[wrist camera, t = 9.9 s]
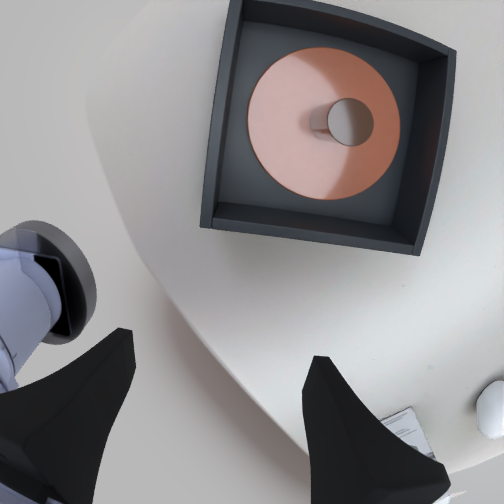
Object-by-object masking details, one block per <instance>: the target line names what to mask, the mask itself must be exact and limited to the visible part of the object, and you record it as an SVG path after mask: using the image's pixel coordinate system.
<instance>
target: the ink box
mask: <svg viewBox="0 0 504 504" xmlns="http://www.w3.org/2000/svg"><path fill="white" fill-rule="evenodd" d="M380 422H381V423H382V424H383V425H384V426H385V427H387V428H388V429H389V430H390V431H391V432H392V433H394V434H395V435H396V436H397V437H399V438H400V439H401V440H403V441H404V442H405V443H407V444H408V445H410V446H411V447H413V448H414V449H416V450H417V451H419V452H421V453H422V454H424V455H426V456H428V457H430V458H432V459H433V460H435V461H437V460H436V458H435V456H434V454H433V451H432V449H431V447H430V445H429V442H428V440H427V438H426V436H425V434H424V432H423V430H422V427H421V425H420V423H419V421H418V419H417V417H416V415H415V413H414V411H413V409H412V408H411V407H410V408H408V409H406V410H404V411H402V412H400V413H398V414H396V415H394V416H391V417H389V418H387V419H385V420H382V421H380ZM450 495H451V494H450V491H449V489H448V491H447V492H446V493H445V494H444V495H443V496H441V497H440V498H439V499H438V500H437V501H435V502H434V503H433V504H449V501H450Z"/></svg>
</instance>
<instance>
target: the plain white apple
mask: <svg viewBox="0 0 504 504" xmlns="http://www.w3.org/2000/svg"><path fill="white" fill-rule="evenodd" d="M476 411H477V427H478V430H479V432H480V433H481V434H482V435H483V436H485V437H487V438H489V439H499V438H501V437H502V436H504V381H494V382H493V383H491V384H490V385H489V386H487V387H486V388H485V389H484V390H483V392H482V394H481V395H480V396H479V398H478V399H477V403H476Z"/></svg>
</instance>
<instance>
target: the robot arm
mask: <svg viewBox="0 0 504 504" xmlns="http://www.w3.org/2000/svg"><path fill="white" fill-rule="evenodd" d="M50 260H51V261H52V263H53V264H52V263H51V262H50ZM62 330H63V331H62ZM48 332H51V333H55V334H59V335H63V336H67V337H69V336H70V335H71V334H72V329H71V324H70V318H69V313H68V307H67V301H66V294H65V287H64V280H63V272H62V263H61V260H60V259H59V258H58V257H56V256H49V255H43V254H37V253H31V252H25V251H19V250H14V249H8V248H2V247H0V504H92V502H93V496H94V490H95V485H96V480H97V475H98V471H99V467H100V463H101V459H102V455H103V451H104V448H105V445H106V442H107V438H108V435H109V433H110V430H111V428H112V426H113V423H114V421H115V419H116V417H117V414H118V412H119V410H120V408H121V406H122V404H123V402H124V399H125V397H126V395H127V393H128V391H129V388H130V385H131V382H132V379H133V376H134V373H135V369H136V362H135V354H134V344H133V333H132V330H128V329H123V328H117V329H116V330H114V331H113V332H112V333H110V334H109V335H108V336H107V337H105V338H104V339H103V340H102V341H100V342H99V343H98V344H96V345H95V346H94V347H92V348H91V349H90V350H89V351H87V352H86V353H84V354H83V355H82V356H80V357H79V358H77V359H76V360H74V361H73V362H71V363H70V364H68V365H67V366H65V367H63V368H62V369H60V370H58V371H56V372H55V373H53V374H51V375H49V376H47V377H45V378H43V379H40V380H38V381H36V382H33V383H31V384H29V385H26V386H24V387H21V388H18V387H19V385H18V383H17V382H16V380H15V376H16V374H17V373H18V372H19V370H20V369H21V368H22V366H23V365H24V363H25V362H26V361H27V359H28V358H29V357H30V355H31V354H32V353H33V351H34V350H35V349H36V347H37V346H38V345H39V343H40V342H41V341H42V339H43V338H44V337H45V336H46V334H47V333H48ZM17 388H18V389H17ZM302 409H303V418H304V425H305V431H306V437H307V443H308V450H309V456H310V466H311V504H433V503H434V502H435V501H437V500H438V499H439V498H440V497H441V496H443V495H444V494H445V493H446V492H447V491H448V489H449V487H450V485H451V483H450V480H449V478H448V475H447V472H446V469H445V467H444V465H443V464H441V463H439V462H437V461H435V460H433V459H432V458H430V457H428V456H426V455H424V454H422V453H421V452H419V451H417V450H416V449H414V448H413V447H411V446H410V445H408V444H407V443H405V442H404V441H403V440H401V439H400V438H399V437H397V436H396V435H395V434H394V433H392V432H391V431H390V430H389V429H388V428H387V427H385V426H384V425H383V424H382V423H381V422H380V421H379V420H378V419H377V418H376V417H375V416H374V415H373V414H372V413H371V412H370V411H369V410H368V408H367V407H366V406H365V405H364V404H363V403H362V402H361V400H360V399H359V398H358V397H357V395H356V394H355V393H354V391H353V390H352V389H351V388H350V386H349V385H348V384H347V382H346V381H345V379H344V378H343V377H342V375H341V374H340V372H339V371H338V369H337V368H336V366H335V365H334V364H333V362H332V361H331V359H330V358H329V357H325V356H314V357H313V360H312V363H311V366H310V369H309V372H308V375H307V378H306V381H305V384H304V387H303V389H302Z"/></svg>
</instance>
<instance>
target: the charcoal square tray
mask: <svg viewBox="0 0 504 504" xmlns="http://www.w3.org/2000/svg"><path fill="white" fill-rule="evenodd" d="M310 47H330V48H335V49H340V50H343V51H346V52H349V53H351V54H353V55H355V56H358V57H359V58H361V59H362V60H364V61H366V62H367V63H368V64H369V65H371V66H372V67H373V68H374V69H375V70H376V71H377V72H378V73H379V74H380V75H381V76H382V77H383V79H384V80H385V81H386V83H387V84H388V86H389V88H390V89H391V91H392V93H393V95H394V98H395V100H396V103H397V107H398V110H399V116H400V138H399V143H398V148H397V151H396V154H395V156H394V159H393V160H392V162H391V164H390V166H389V168H388V169H387V170H386V172H385V173H384V174H383V175H382V177H381V178H380V179H379V180H378V181H377V182H375V183H374V184H373V185H372V186H371V187H369V188H367V189H366V190H364V191H363V192H361V193H358V194H356V195H354V196H351V197H348V198H344V199H339V200H315V199H310V198H306V197H303V196H300V195H297V194H295V193H293V192H291V191H289V190H287V189H286V188H284V187H283V186H281V185H280V184H278V183H277V182H276V181H275V180H274V179H273V178H271V177H270V176H269V174H268V173H267V172H266V171H265V170H264V169H263V167H262V166H261V164H260V163H259V161H258V160H257V158H256V156H255V154H254V152H253V149H252V147H251V144H250V141H249V136H248V131H247V108H248V104H249V99H250V96H251V94H252V91H253V88H254V87H255V85H256V83H257V81H258V79H259V78H260V77H261V75H262V74H263V73H264V71H265V70H266V69H267V68H268V67H269V66H270V65H271V64H273V63H274V62H275V61H277V60H278V59H280V58H281V57H283V56H285V55H287V54H289V53H291V52H294V51H297V50H300V49H304V48H310ZM456 53H457V52H456V50H454V49H452V48H450V47H448V46H446V45H443V44H441V43H439V42H437V41H435V40H433V39H430V38H428V37H426V36H423V35H421V34H419V33H416V32H414V31H411V30H409V29H406V28H404V27H401V26H398V25H396V24H393V23H390V22H387V21H385V20H382V19H379V18H376V17H373V16H370V15H366V14H363V13H360V12H356V11H353V10H349V9H346V8H342V7H338V6H334V5H330V4H326V3H322V2H317V1H313V0H230V3H229V8H228V14H227V19H226V25H225V31H224V36H223V42H222V48H221V55H220V61H219V67H218V74H217V80H216V87H215V94H214V101H213V109H212V116H211V124H210V132H209V140H208V148H207V157H206V166H205V175H204V184H203V194H202V204H201V215H200V227H201V228H208V229H211V228H212V229H217V230H225V231H233V232H241V233H250V234H258V235H266V236H274V237H282V238H289V239H297V240H305V241H312V242H320V243H328V244H335V245H342V246H350V247H357V248H364V249H371V250H379V251H386V252H393V253H400V254H407V255H414V256H420V253H421V250H422V247H423V243H424V240H425V236H426V233H427V229H428V226H429V222H430V218H431V214H432V211H433V207H434V203H435V198H436V194H437V190H438V185H439V181H440V176H441V171H442V166H443V161H444V156H445V150H446V145H447V139H448V132H449V126H450V119H451V111H452V103H453V94H454V83H455V70H456Z"/></svg>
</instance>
